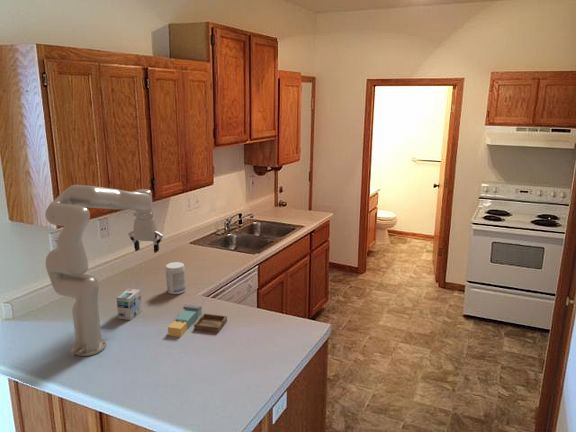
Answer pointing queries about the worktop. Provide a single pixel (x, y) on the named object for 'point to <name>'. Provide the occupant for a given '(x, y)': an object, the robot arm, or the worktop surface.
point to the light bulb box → (129, 304)
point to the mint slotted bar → (190, 314)
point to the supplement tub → (175, 278)
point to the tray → (210, 323)
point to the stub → (177, 328)
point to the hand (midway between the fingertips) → (146, 251)
